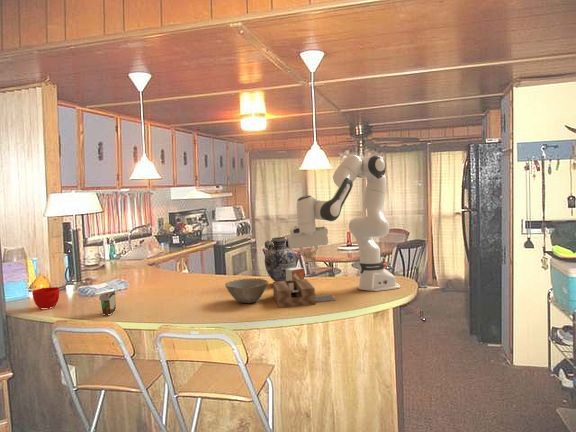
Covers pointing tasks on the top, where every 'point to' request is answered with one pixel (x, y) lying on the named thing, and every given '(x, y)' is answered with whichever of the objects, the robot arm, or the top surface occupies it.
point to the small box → (294, 274)
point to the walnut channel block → (297, 299)
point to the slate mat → (324, 298)
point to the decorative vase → (279, 258)
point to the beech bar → (309, 257)
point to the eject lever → (292, 288)
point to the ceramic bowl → (246, 289)
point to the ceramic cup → (46, 297)
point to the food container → (108, 302)
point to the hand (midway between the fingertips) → (309, 255)
